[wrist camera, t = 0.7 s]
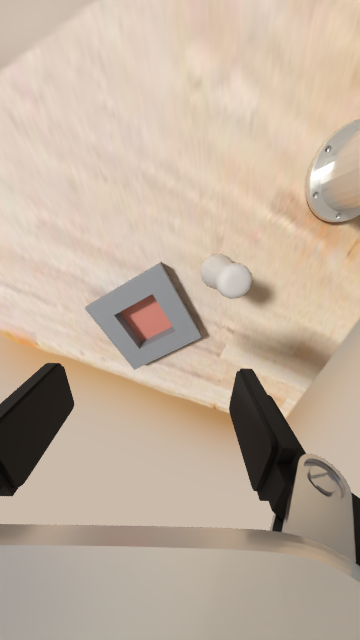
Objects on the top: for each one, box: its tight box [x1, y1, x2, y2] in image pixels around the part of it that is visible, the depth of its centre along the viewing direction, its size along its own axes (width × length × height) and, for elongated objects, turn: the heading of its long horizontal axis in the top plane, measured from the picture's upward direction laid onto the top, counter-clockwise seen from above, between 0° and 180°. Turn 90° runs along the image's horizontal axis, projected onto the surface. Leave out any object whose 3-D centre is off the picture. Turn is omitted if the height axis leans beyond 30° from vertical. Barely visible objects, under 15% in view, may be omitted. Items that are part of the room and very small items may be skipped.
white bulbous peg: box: [201, 254, 252, 299], centre depth 26 cm, size 6×6×13 cm
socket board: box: [85, 263, 201, 370], centre depth 34 cm, size 16×16×3 cm
